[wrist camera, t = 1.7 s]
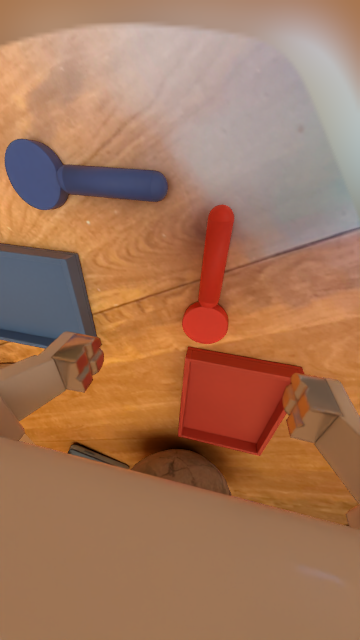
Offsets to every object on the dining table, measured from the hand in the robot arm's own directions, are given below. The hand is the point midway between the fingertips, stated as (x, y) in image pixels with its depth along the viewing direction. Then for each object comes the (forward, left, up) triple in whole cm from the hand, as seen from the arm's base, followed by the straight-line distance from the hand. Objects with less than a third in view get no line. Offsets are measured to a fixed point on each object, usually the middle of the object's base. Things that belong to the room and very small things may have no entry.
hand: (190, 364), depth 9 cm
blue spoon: (+11, -6, -13) cm, 18 cm away
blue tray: (+23, +7, -13) cm, 27 cm away
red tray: (-5, +20, -13) cm, 24 cm away
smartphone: (+21, +53, -13) cm, 59 cm away
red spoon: (0, +2, -13) cm, 13 cm away
